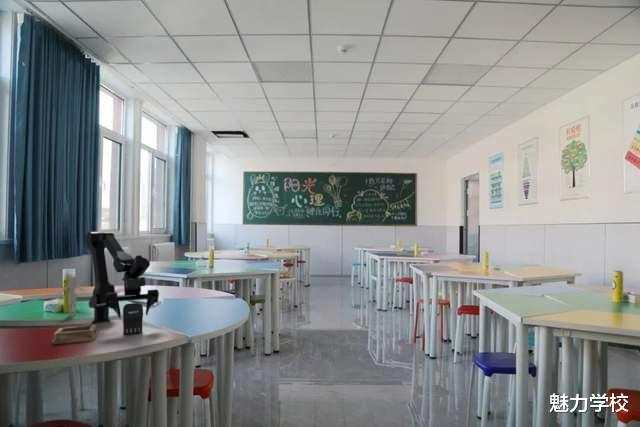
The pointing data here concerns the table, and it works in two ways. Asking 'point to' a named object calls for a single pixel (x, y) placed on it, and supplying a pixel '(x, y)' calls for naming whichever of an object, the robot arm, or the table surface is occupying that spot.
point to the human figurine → (72, 293)
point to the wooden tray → (75, 334)
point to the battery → (132, 318)
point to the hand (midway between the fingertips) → (133, 316)
